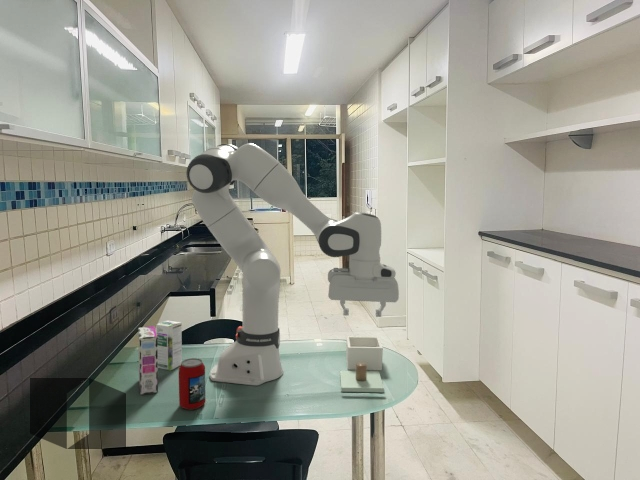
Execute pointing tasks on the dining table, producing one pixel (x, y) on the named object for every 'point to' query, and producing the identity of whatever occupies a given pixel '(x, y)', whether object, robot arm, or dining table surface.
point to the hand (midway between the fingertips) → (362, 315)
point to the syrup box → (169, 344)
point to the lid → (361, 380)
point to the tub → (364, 352)
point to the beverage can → (191, 383)
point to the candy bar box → (148, 360)
